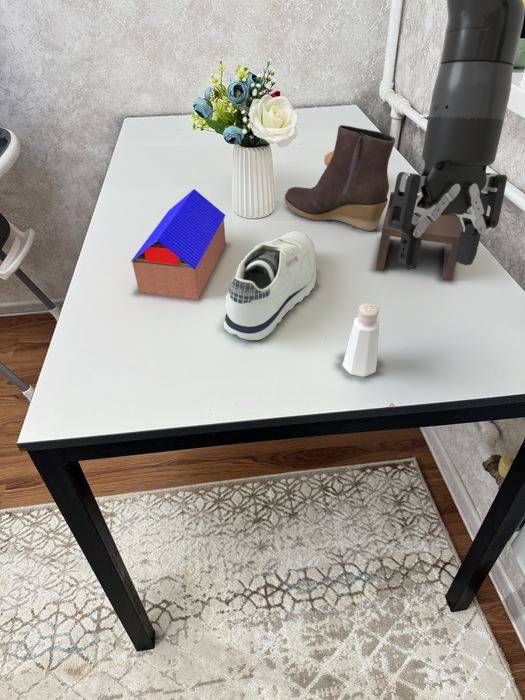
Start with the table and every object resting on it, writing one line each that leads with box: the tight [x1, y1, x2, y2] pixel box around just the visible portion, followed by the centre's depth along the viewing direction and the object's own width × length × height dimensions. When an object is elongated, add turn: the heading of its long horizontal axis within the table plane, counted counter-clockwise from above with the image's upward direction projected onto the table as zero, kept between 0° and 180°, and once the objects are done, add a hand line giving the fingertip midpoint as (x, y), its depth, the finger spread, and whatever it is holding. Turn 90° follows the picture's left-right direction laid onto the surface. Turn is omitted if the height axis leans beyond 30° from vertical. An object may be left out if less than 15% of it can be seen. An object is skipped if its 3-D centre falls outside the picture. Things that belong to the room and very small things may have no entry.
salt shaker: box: [342, 302, 380, 378], centre depth 72 cm, size 5×5×11 cm
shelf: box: [375, 191, 465, 282], centre depth 94 cm, size 14×12×10 cm
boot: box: [284, 124, 396, 232], centre depth 104 cm, size 9×24×20 cm, turn 58°
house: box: [130, 188, 227, 301], centre depth 92 cm, size 12×20×12 cm, turn 168°
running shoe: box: [223, 230, 318, 341], centre depth 85 cm, size 11×29×12 cm, turn 158°
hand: (436, 265), depth 58 cm, fingers open, 8 cm apart
